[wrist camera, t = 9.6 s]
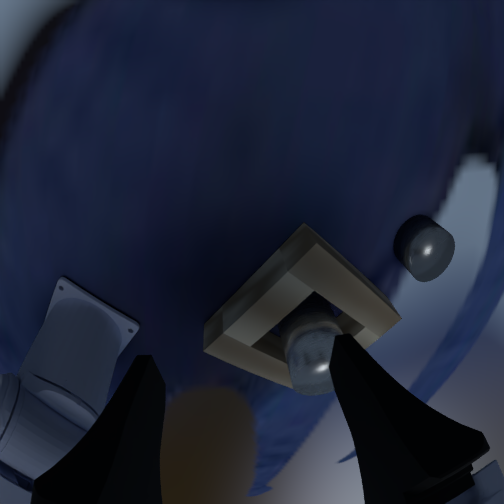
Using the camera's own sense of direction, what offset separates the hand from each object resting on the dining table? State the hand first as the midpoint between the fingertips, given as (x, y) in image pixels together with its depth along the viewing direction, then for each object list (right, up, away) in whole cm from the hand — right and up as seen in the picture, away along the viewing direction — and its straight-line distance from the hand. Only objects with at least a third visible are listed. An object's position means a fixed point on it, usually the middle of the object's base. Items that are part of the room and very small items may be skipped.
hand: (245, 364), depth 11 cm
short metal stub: (+14, +5, +11) cm, 18 cm away
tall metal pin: (+4, 0, +13) cm, 13 cm away
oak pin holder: (+4, -1, +13) cm, 14 cm away
